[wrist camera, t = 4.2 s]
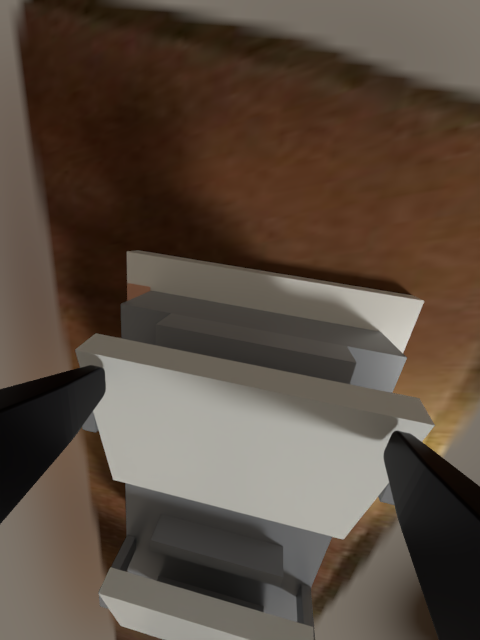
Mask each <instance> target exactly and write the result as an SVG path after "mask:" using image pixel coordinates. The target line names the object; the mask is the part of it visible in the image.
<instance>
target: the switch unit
mask: <svg viewBox="0 0 480 640" xmlns="http://www.w3.org/2000/svg"><path fill="white" fill-rule="evenodd" d="M423 303H424V300H421V299H419V298H417V297H415V296H413V295H407V294H401V293H395V292H389V291H383V290H377V289H371V288H365V287H359V286H353V285H347V284H340V283H334V282H328V281H322V280H316V279H310V278H304V277H298V276H292V275H286V274H280V273H273V272H267V271H261V270H255V269H249V268H243V267H237V266H231V265H225V264H219V263H213V262H207V261H200V260H194V259H188V258H182V257H176V256H170V255H164V254H158V253H152V252H146V251H140V250H136V251H127V301H126V302H124V303H122V304H121V335H122V339H127V340H132V341H137V342H142V343H147V344H152V345H157V346H162V347H167V348H171V349H176V350H181V351H186V352H191V353H196V354H201V355H206V356H211V357H216V358H221V359H226V360H231V361H236V362H241V363H246V364H251V365H256V366H261V367H266V368H271V369H276V370H281V371H286V372H291V373H296V374H301V375H306V376H311V377H316V378H321V379H326V380H331V381H336V382H341V383H346V384H350V385H355V386H360V387H365V388H370V389H375V390H380V391H385V392H390V393H392V392H393V390H394V387H395V385H396V383H397V380H398V378H399V375H400V373H401V371H402V368H403V366H404V363H405V361H406V359H407V357H406V356H405V355H404V354H403V352H404V349H405V347H406V345H407V342H408V340H409V337H410V335H411V332H412V330H413V327H414V325H415V323H416V320H417V318H418V315H419V313H420V310H421V308H422V305H423ZM82 428H83V430H87V431H91V432H95V433H96V432H97V431H98V426H97V423H96V420H95V416H94V413H93V412H92V413H91V415H90V416H89V418H88V419H87V420H86V422H85V423H84V425H83V426H82ZM125 490H126V529H127V537H126V539H125V541H124V543H123V545H122V547H121V548H120V550H119V552H118V554H117V556H116V558H115V560H114V562H113V564H112V566H111V568H115V569H118V570H122V571H125V572H126V571H127V568H128V573H132V574H135V575H138V576H142V577H145V578H149V579H152V580H155V581H159V582H162V583H166V584H169V585H172V586H176V587H179V588H183V589H186V590H189V591H193V592H196V593H199V594H203V595H206V596H210V597H213V598H216V599H220V600H223V601H227V602H230V603H233V604H237V605H240V606H244V607H247V608H250V609H254V610H257V611H260V612H264V613H267V614H271V615H274V616H277V617H281V618H284V619H288V620H291V621H294V622H298V623H301V624H305V625H308V626H311V627H313V637H314V640H315V633H314V622H313V610H312V598H311V586H312V584H313V581H314V579H315V576H316V574H317V572H318V569H319V567H320V564H321V562H322V560H323V557H324V555H325V552H326V550H327V548H328V545H329V543H330V540H331V538H332V536H328V535H324V534H320V533H316V532H313V531H309V530H305V529H301V528H297V527H293V526H289V525H286V524H282V523H278V522H274V521H270V520H266V519H262V518H259V517H255V516H251V515H247V514H243V513H239V512H235V511H232V510H228V509H224V508H220V507H216V506H212V505H208V504H205V503H201V502H197V501H193V500H189V499H185V498H181V497H178V496H174V495H170V494H166V493H162V492H158V491H154V490H151V489H147V488H143V487H139V486H135V485H131V484H127V483H125ZM378 497H379V500H380V502H384V503H389V504H393V505H394V501H393V497H392V493H391V488H390V484H389V483H388V484H387V486H386V487H385V488H384V489H383V491H382V492H381V493H380V494H379V496H378ZM100 589H101V588H100ZM99 591H100V590H99ZM99 601H100V606H101V607H104V608H108V607H107V605H106V604H105V602H104V601H103V599H102V598H101V596H100V595H99ZM108 609H109V608H108Z"/></svg>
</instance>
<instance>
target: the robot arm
mask: <svg viewBox="0 0 480 640" xmlns="http://www.w3.org/2000/svg"><path fill="white" fill-rule="evenodd" d="M105 391H106V382H105V370H104V368H102V367H99V366H94V365H88V366H85V367H81V368H77V369H74V370H70V371H66V372H63V373H59V374H55V375H51V376H48V377H44V378H40V379H37V380H33V381H29V382H26V383H22V384H18V385H14V386H11V387H7V388H3V389H0V523H2V521H3V520H4V519H5V518H6V517H7V516H8V514H9V513H10V512H11V511H12V510H13V508H14V507H15V506H16V505H17V504H18V503H19V502H20V500H21V499H22V498H23V497H24V496H25V495H26V493H27V492H28V491H29V490H30V489H31V488H32V486H33V485H34V484H35V483H36V482H37V481H38V479H39V478H40V477H41V476H42V475H43V474H44V472H45V471H46V470H47V469H48V468H49V466H50V465H51V464H52V463H53V462H54V461H55V459H56V458H57V457H58V456H59V455H60V454H61V453H62V451H63V450H64V449H65V448H66V447H67V445H68V444H69V443H70V442H71V441H72V439H73V438H74V437H75V436H76V434H77V433H78V432H79V430H80V429H81V427H82V426H83V425H84V423H85V422H86V420H87V419H88V418H89V416H90V415H91V413H92V412H93V410H94V409H95V408H96V406H97V405H98V403H99V402H100V401H101V399H102V398H103V396H104V394H105ZM383 457H384V463H385V468H386V472H387V476H388V480H389V484H390V488H391V493H392V497H393V501H394V505H395V509H396V513H397V517H398V520H399V523H400V526H401V529H402V532H403V535H404V538H405V541H406V544H407V547H408V550H409V553H410V556H411V559H412V562H413V565H414V568H415V571H416V574H417V577H418V579H419V583H420V585H421V588H422V591H423V594H424V597H425V600H426V603H427V606H428V609H429V612H430V615H431V618H432V621H433V624H434V627H435V630H436V633H437V635H438V639H439V640H480V486H478V485H477V484H476V483H474V482H473V481H472V480H471V479H469V478H468V477H467V476H465V475H464V474H463V473H461V472H460V471H459V470H458V469H456V468H455V467H454V466H452V465H451V464H450V463H449V462H447V461H446V460H445V459H443V458H442V457H441V456H439V455H438V454H437V453H436V452H434V451H433V450H432V449H430V448H429V447H428V446H426V445H425V444H424V443H423V442H421V441H420V440H419V439H417V438H416V437H415V436H413V435H412V434H410V433H407V432H402V431H394V432H393V433H392V434H391V437H390V439H389V441H388V443H387V446H386V448H385V450H384V455H383ZM163 640H164V639H163Z"/></svg>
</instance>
